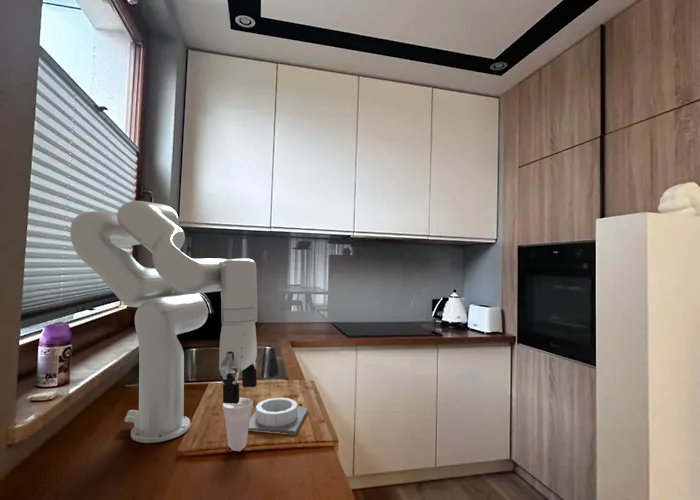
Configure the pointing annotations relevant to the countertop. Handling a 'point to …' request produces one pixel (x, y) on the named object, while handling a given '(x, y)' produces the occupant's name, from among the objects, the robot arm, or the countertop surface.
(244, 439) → the smoothie
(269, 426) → the holder
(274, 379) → the countertop surface
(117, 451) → the countertop surface
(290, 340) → the countertop surface
